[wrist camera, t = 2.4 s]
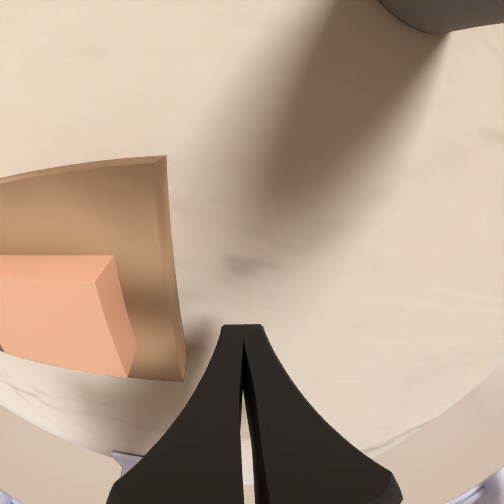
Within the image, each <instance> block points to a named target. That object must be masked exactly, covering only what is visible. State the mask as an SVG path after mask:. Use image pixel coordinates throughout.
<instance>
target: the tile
mask: <svg viewBox="0 0 504 504" xmlns="http://www.w3.org/2000/svg"><path fill="white" fill-rule="evenodd" d="M0 345H1V346H2V348H3V350H4V352H5V353H6V354H9V355H13V356H16V357H20V358H24V359H27V360H31V361H35V362H39V363H43V364H48V365H52V366H57V367H62V368H67V369H72V370H77V371H82V372H88V373H94V374H101V375H108V376H115V377H123V378H128V375H129V371H130V368H131V365H132V362H133V359H134V356H135V353H136V350H137V345H136V342H135V339H134V335H133V332H132V328H131V325H130V321H129V317H128V314H127V310H126V306H125V302H124V298H123V294H122V290H121V286H120V281H119V277H118V272H117V267H116V262H115V257H114V255H0Z"/></svg>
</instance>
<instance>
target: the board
mask: <svg viewBox="0 0 504 504" xmlns="http://www.w3.org/2000/svg"><path fill="white" fill-rule="evenodd" d="M0 255H114V257H115V262H116V267H117V272H118V277H119V281H120V286H121V290H122V294H123V298H124V302H125V306H126V310H127V314H128V317H129V321H130V325H131V328H132V332H133V335H134V339H135V342H136V345H137V350H136V353H135V356H134V359H133V362H132V365H131V368H130V371H129V375H128V377H131V378H140V379H151V380H163V381H179V382H183V381H184V374H185V367H186V360H187V352H186V346H185V340H184V334H183V327H182V321H181V314H180V307H179V300H178V292H177V284H176V276H175V268H174V258H173V249H172V238H171V227H170V214H169V200H168V183H167V161H166V155H165V156H149V157H136V158H125V159H115V160H106V161H97V162H89V163H81V164H74V165H68V166H61V167H55V168H49V169H44V170H38V171H33V172H28V173H23V174H18V175H13V176H9V177H5V178H0ZM0 351H2V352H4V350H3V348H2V346H1V345H0Z"/></svg>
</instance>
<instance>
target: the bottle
mask: <svg viewBox="0 0 504 504" xmlns="http://www.w3.org/2000/svg"><path fill="white" fill-rule="evenodd" d="M380 1H381V3H382V4H383V5H384V6H385V7H386V8H387V9H388V10H390V11H391V12H392V13H393V14H394V15H395V16H397V17H398V18H399V19H401V20H402V21H404V22H405V23H407V24H408V25H410V26H412V27H414V28H416V29H418V30H421V31H424V32H428V33H434V34H437V33H446V32H451V31H456V30H462V29H467V28H473V27H478V26H485V25H492V24H499V23H504V0H380Z"/></svg>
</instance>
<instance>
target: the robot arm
mask: <svg viewBox="0 0 504 504" xmlns="http://www.w3.org/2000/svg"><path fill="white" fill-rule="evenodd" d="M243 392H244V399H245V406H246V412H247V419H248V425H249V431H250V438H251V445H252V457H253V474H254V492H255V504H400V503H401V502H402V500H403V497H402V493H401V490H400V488H399V486H398V484H397V482H396V480H395V478H394V476H393V474H392V472H391V471H389V470H387V469H386V468H384V467H382V466H381V465H379V464H378V463H376V462H374V461H373V460H372V459H370V458H369V457H367V456H366V455H365V454H363V453H362V452H361V451H359V450H358V449H357V448H355V447H354V446H353V445H352V444H350V443H349V442H348V441H347V440H346V439H345V438H343V437H342V436H341V435H340V434H339V433H338V432H337V431H336V430H335V429H333V428H332V427H331V426H330V425H329V424H328V423H327V422H326V421H325V420H324V419H323V418H322V417H321V416H320V415H319V414H318V413H317V411H316V410H315V409H314V408H313V407H312V406H311V405H310V403H309V402H308V401H307V400H306V399H305V397H304V396H303V395H302V394H301V392H300V391H299V390H298V388H297V387H296V385H295V384H294V383H293V381H292V380H291V378H290V377H289V375H288V374H287V372H286V371H285V369H284V368H283V366H282V364H281V363H280V361H279V359H278V358H277V356H276V354H275V352H274V350H273V348H272V346H271V344H270V342H269V340H268V338H267V336H266V333H265V331H264V328H263V326H262V325H261V324H242V325H223V326H222V327H221V332H220V336H219V339H218V342H217V345H216V348H215V351H214V353H213V356H212V358H211V360H210V362H209V364H208V367H207V369H206V371H205V373H204V375H203V377H202V379H201V380H200V382H199V384H198V386H197V388H196V390H195V391H194V393H193V395H192V396H191V398H190V400H189V401H188V403H187V404H186V406H185V407H184V409H183V410H182V412H181V413H180V414H179V416H178V417H177V419H176V420H175V421H174V422H173V424H172V425H171V426H170V428H169V429H168V430H167V432H166V433H165V434H164V435H163V436H162V437H161V439H160V440H159V441H158V442H157V443H156V444H155V445H154V446H153V447H152V448H151V449H150V451H149V452H148V453H147V454H146V455H145V456H144V457H138V456H132V455H127V454H121V453H116V452H112V454H111V455H112V457H113V458H114V459H115V460H116V461H117V462H118V463H119V464H120V465H121V466H122V472H121V478H119V480H117V481H116V482H115V483H114V484H113V486H112V489H111V491H110V493H109V496H108V499H107V502H106V504H244V493H243V477H242V459H241V440H240V427H241V411H242V396H243ZM0 504H24V503H22V502H20V501H18V500H16V499H15V498H13V497H11V496H10V495H8V494H7V493H5V492H4V491H2V490H1V489H0ZM446 504H504V466H503V467H501V468H500V469H498V470H497V471H496V472H494V473H493V474H492V475H490V476H489V477H487V478H486V479H485V480H484V481H482V482H481V483H479V484H478V485H476V486H474V487H473V488H471V489H470V490H468V491H466V492H465V493H463V494H461V495H460V496H458V497H457V498H455V499H453V500H451V501H449V502H448V503H446Z"/></svg>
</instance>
